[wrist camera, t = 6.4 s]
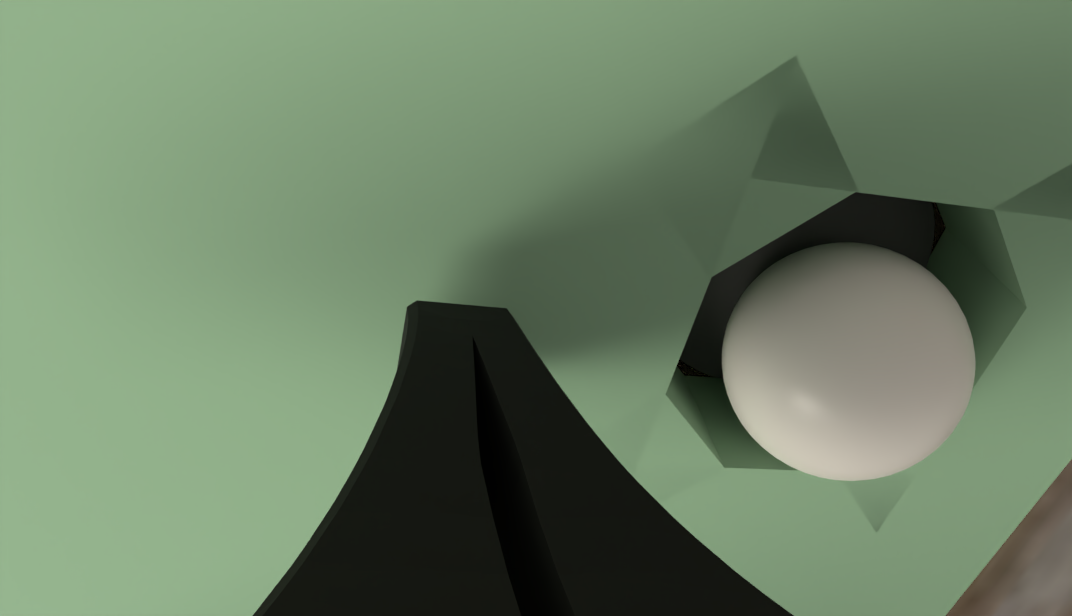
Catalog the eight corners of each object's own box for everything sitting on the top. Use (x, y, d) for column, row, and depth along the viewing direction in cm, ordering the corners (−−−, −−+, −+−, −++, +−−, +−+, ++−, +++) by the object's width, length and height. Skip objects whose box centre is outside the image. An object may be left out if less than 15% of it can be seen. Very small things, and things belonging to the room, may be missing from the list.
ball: (715, 334, 17) (917, 376, 17) (690, 495, 15) (930, 553, 14) (758, 175, 15) (1001, 219, 14) (735, 337, 12) (1038, 401, 11)
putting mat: (880, 545, 22) (931, 633, 20) (-225, 528, 16) (-311, 649, 14) (1346, -141, 13) (1525, -105, 11) (-817, -744, 7) (-1293, -910, 5)
